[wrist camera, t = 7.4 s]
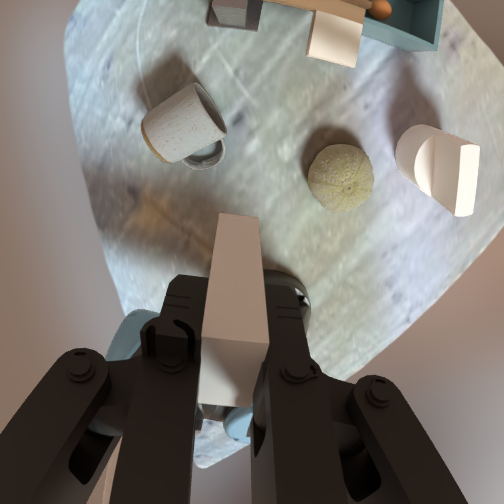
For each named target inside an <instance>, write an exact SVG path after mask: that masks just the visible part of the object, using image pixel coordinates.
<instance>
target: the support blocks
mask: <svg viewBox="0 0 504 504" xmlns="http://www.w3.org/2000/svg"><path fill="white" fill-rule="evenodd" d="M262 3H263V0H212V5H211V11H210V16H209V21H208V26H212V27H223V28H232V29H241V30H248V31H255V32H257V30H258V25H259V19H260V14H261V9H262Z"/></svg>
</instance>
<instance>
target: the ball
mask: <svg viewBox="0 0 504 504" xmlns="http://www.w3.org/2000/svg"><path fill="white" fill-rule="evenodd" d="M369 1H370V2H372V6H371V8H369V9H367V11H368V13H369V14H370V15H371V16H372V17H373V18H375V19H378V20H385V19H387V18H388V17H389V16H390V15H391V13H392V8H391V5H390V4H389V2H388V1H386V0H369Z"/></svg>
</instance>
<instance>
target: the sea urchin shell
mask: <svg viewBox="0 0 504 504" xmlns="http://www.w3.org/2000/svg"><path fill="white" fill-rule="evenodd" d="M373 176H374V175H373V168H372V165H371V163H370V160H369V157H368V156H367V155H366V153H365V152H364V151H362V150H361V149H359V148H357V147H355V146H353V145H347V144H335V145H329V146H327V147H325V148H323V150H322V151H321V152H320V153H319V154H318V155H317V156H316V158H315V160H314V161H313V163H312V165H311V167H310V169H309V174H308V186H309V189H310V191H311V192H312V194H313V196H314V198H316V199H317V200H318V201H319V202H320V203H321V205H322V206H324V207H325V208H327V209H329V210H331V211H332V212H338V213H339V212H344V211H351V210H352V209H354V208H355V207H357V206H359V205H361V204H362V203H363V202H364V201H365V200H367V199H368V198H369V196H370V194H371V192H372V188H373V182H374V177H373Z"/></svg>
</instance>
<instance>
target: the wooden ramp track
mask: <svg viewBox="0 0 504 504" xmlns="http://www.w3.org/2000/svg"><path fill="white" fill-rule="evenodd" d="M264 1H269V2H274V3H279V4H284V5H288V6H293V7H297V8H301V9H305V10H309V11H313V17H312V22H311V28H310V33H309V38H308V44H307V49H306V55H305V56H309V57H313V58H317V59H321V60H325V61H329V62H332V63H336V64H339V65H343V66H346V67H350V68H355V65H356V60H357V55H358V50H359V44H360V39H361V33H362V28H363V22H364V16H365V10H366V9H369V8H371V6H372V2H370V1H368V0H264Z"/></svg>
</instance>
